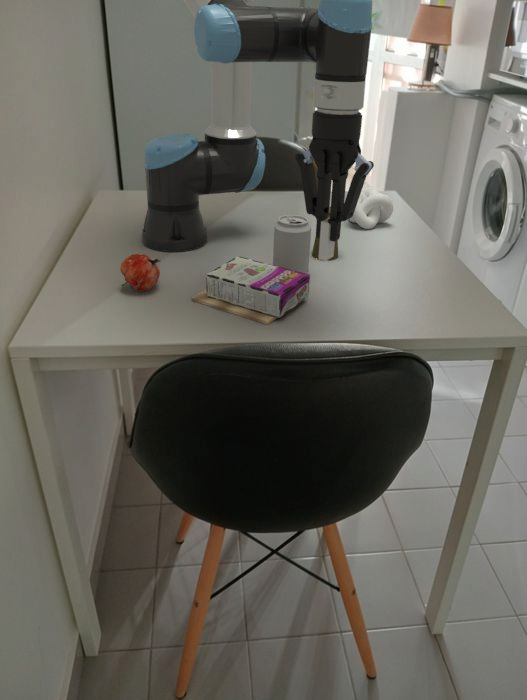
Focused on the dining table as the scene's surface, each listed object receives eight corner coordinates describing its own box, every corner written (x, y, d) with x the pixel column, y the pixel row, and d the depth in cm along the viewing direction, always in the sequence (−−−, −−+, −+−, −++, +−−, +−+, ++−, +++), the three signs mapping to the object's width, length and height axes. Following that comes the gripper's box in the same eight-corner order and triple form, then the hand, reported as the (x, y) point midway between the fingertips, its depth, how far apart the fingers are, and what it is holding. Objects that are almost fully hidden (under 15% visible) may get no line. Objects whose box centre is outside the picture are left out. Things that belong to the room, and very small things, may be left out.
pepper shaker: (337, 261, 135) (341, 213, 129) (310, 258, 136) (313, 210, 130) (339, 252, 140) (344, 205, 135) (313, 249, 141) (317, 202, 135)
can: (283, 283, 124) (286, 226, 118) (266, 270, 129) (268, 215, 123) (314, 277, 127) (319, 221, 121) (296, 265, 132) (299, 211, 126)
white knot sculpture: (372, 235, 151) (377, 200, 146) (332, 224, 158) (336, 190, 153) (395, 225, 159) (400, 191, 154) (356, 215, 165) (360, 182, 161)
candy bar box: (309, 298, 116) (238, 277, 124) (311, 274, 114) (238, 254, 121) (279, 320, 108) (205, 296, 115) (280, 295, 106) (204, 272, 113)
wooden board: (191, 300, 115) (191, 297, 115) (236, 275, 126) (236, 272, 126) (267, 324, 107) (267, 321, 107) (308, 295, 119) (308, 293, 118)
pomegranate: (121, 306, 117) (157, 282, 113) (100, 273, 116) (136, 248, 112) (141, 295, 124) (176, 272, 119) (122, 264, 123) (156, 240, 118)
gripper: (288, 108, 92) (281, 255, 104) (366, 117, 86) (350, 272, 98) (312, 103, 98) (303, 243, 110) (387, 112, 92) (370, 259, 103)
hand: (326, 257), depth 104 cm, fingers closed
